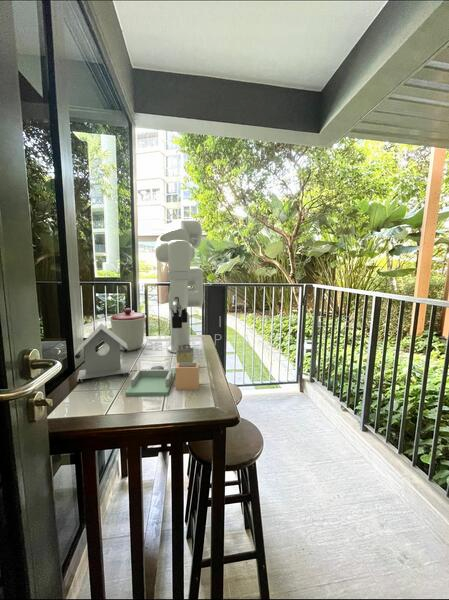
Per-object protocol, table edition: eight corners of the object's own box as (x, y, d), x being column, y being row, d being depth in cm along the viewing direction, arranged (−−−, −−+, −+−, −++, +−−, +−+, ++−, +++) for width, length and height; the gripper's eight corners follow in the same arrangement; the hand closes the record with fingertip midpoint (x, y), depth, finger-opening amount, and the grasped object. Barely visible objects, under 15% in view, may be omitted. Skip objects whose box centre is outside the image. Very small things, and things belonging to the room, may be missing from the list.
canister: (151, 343, 151) (150, 305, 148) (141, 353, 133) (140, 311, 130) (118, 342, 151) (116, 305, 148) (104, 353, 133) (102, 311, 130)
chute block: (177, 383, 101) (177, 361, 100) (199, 383, 101) (199, 361, 100) (175, 389, 96) (175, 367, 95) (198, 389, 96) (198, 366, 95)
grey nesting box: (76, 384, 99) (72, 331, 96) (78, 374, 108) (75, 325, 105) (129, 376, 106) (127, 326, 104) (127, 367, 115) (125, 321, 112)
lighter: (192, 364, 119) (191, 342, 118) (194, 367, 115) (194, 345, 114) (175, 366, 117) (175, 344, 115) (177, 370, 113) (177, 346, 112)
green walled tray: (141, 372, 110) (141, 363, 110) (176, 371, 111) (176, 363, 110) (125, 395, 91) (125, 385, 90) (167, 395, 91) (167, 385, 91)
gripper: (174, 276, 103) (175, 320, 105) (162, 277, 86) (163, 330, 88) (194, 276, 103) (194, 320, 105) (185, 277, 85) (186, 330, 87)
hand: (180, 325), depth 96 cm, fingers open, 9 cm apart
